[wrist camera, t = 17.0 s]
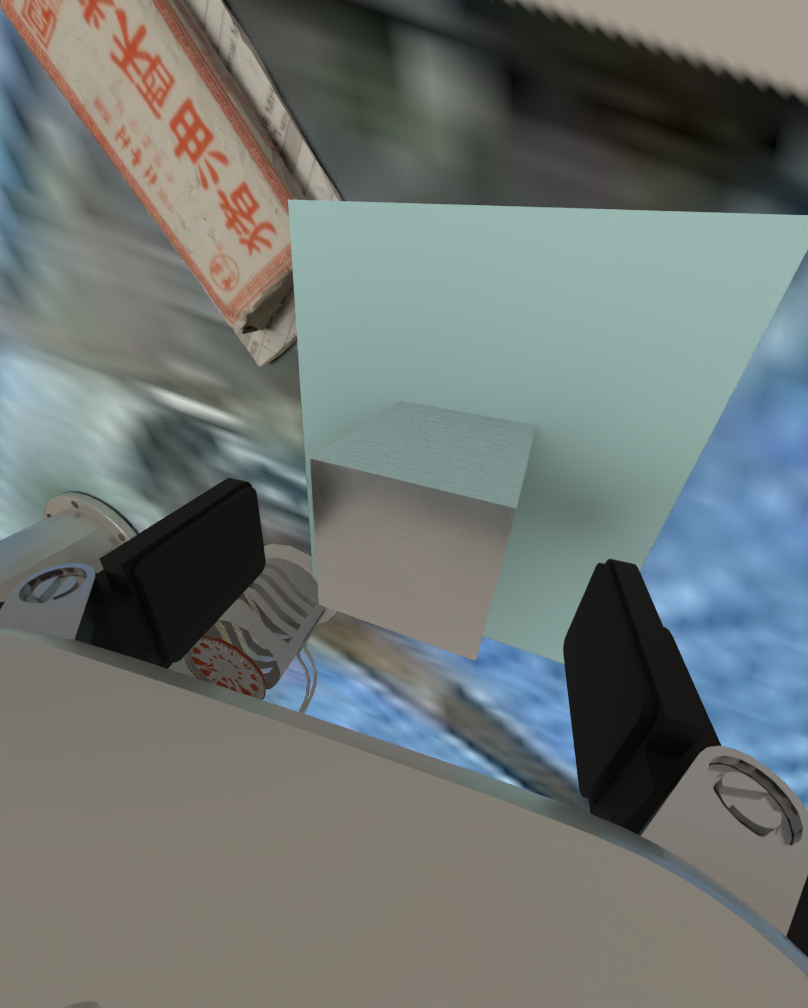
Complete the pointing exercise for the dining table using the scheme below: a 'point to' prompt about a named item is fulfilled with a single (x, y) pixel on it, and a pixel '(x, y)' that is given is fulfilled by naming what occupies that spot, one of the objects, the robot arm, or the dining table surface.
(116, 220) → the dining table surface
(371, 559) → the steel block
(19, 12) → the packaged product
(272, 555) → the french press
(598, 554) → the lid
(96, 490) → the dining table surface
